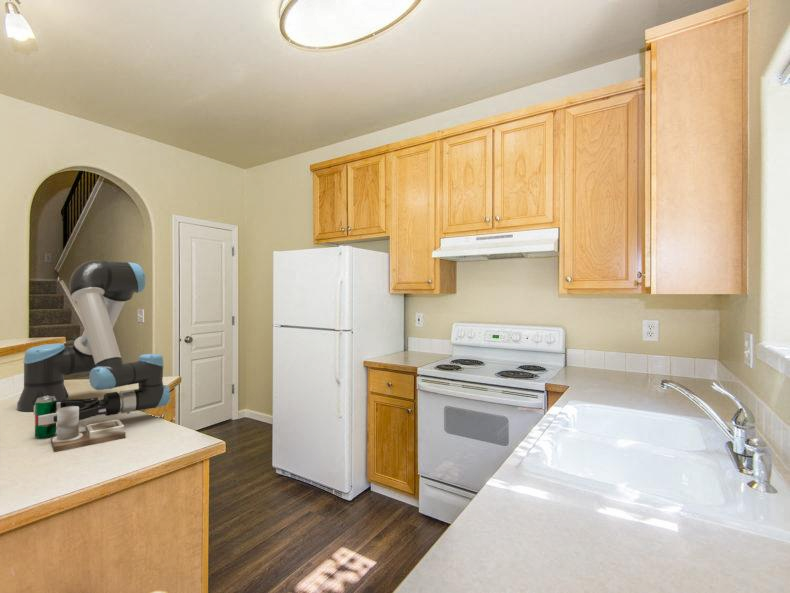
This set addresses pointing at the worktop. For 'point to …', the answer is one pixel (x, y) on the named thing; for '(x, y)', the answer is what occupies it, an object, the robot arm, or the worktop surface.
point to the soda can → (43, 408)
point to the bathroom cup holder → (94, 432)
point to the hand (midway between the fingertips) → (35, 415)
